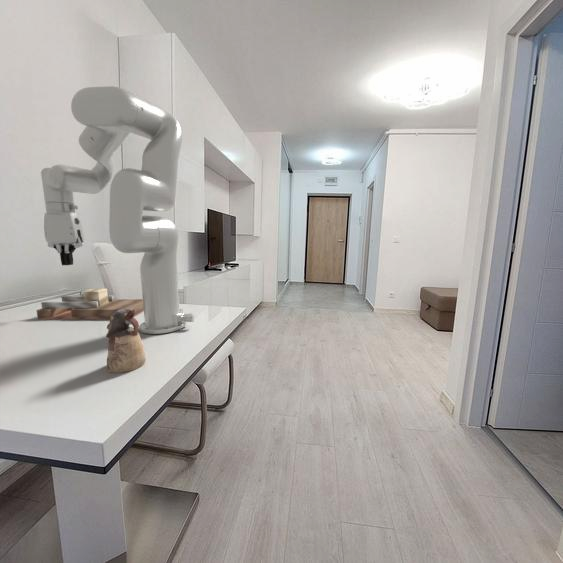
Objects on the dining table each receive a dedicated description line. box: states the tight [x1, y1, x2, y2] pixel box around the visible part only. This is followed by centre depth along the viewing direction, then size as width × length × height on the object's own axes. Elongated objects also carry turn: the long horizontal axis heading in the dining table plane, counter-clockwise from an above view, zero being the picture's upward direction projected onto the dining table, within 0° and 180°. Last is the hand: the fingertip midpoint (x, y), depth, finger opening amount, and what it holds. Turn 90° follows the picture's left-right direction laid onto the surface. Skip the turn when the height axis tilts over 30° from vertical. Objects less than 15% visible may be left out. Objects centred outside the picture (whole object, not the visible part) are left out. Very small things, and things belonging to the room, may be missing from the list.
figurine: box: [105, 309, 147, 374], centre depth 59 cm, size 7×7×12 cm
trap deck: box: [36, 295, 144, 320], centre depth 98 cm, size 30×14×5 cm, turn 91°
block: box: [82, 288, 109, 306], centre depth 98 cm, size 5×5×5 cm
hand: (67, 264), depth 96 cm, fingers closed
